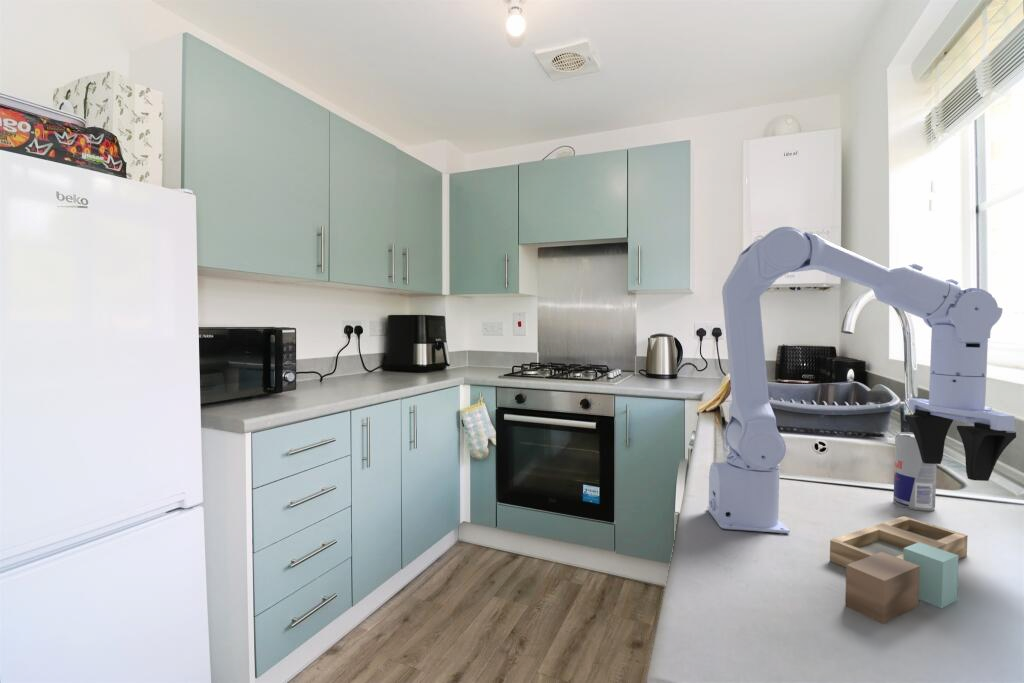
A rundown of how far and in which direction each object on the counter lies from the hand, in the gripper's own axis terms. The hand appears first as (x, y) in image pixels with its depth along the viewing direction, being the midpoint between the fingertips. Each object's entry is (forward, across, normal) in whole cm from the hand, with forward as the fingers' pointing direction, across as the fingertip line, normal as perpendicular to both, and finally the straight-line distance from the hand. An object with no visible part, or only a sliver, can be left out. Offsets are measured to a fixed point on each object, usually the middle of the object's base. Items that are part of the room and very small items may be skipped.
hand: (953, 471), depth 65 cm
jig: (+10, -6, +11) cm, 16 cm away
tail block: (+10, -15, +14) cm, 23 cm away
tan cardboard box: (+10, -18, +21) cm, 29 cm away
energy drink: (+10, +14, -5) cm, 18 cm away
